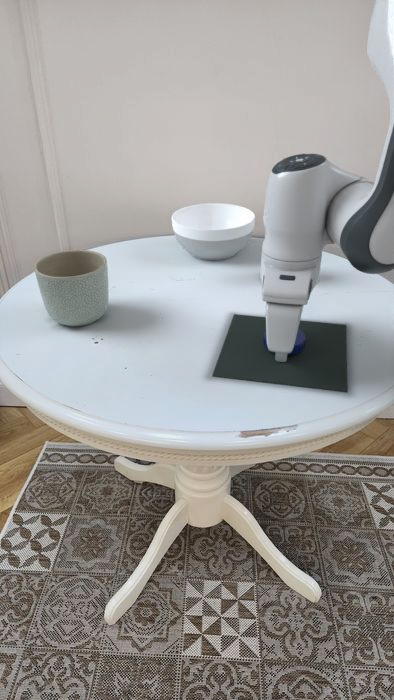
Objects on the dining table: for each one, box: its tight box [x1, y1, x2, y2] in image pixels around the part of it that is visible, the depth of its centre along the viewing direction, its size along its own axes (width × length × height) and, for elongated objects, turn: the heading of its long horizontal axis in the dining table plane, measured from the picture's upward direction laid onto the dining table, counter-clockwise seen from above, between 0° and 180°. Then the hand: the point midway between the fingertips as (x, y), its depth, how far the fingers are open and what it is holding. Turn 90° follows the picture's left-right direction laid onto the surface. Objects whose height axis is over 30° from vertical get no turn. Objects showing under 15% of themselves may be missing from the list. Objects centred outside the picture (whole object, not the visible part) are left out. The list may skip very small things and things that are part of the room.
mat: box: [212, 313, 348, 393], centre depth 88 cm, size 20×20×1 cm
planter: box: [34, 249, 110, 328], centre depth 96 cm, size 12×12×11 cm
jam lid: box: [263, 329, 306, 355], centre depth 87 cm, size 7×7×2 cm
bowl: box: [171, 202, 256, 261], centre depth 122 cm, size 19×19×9 cm
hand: (283, 346), depth 87 cm, fingers closed on jam lid, 6 cm apart
